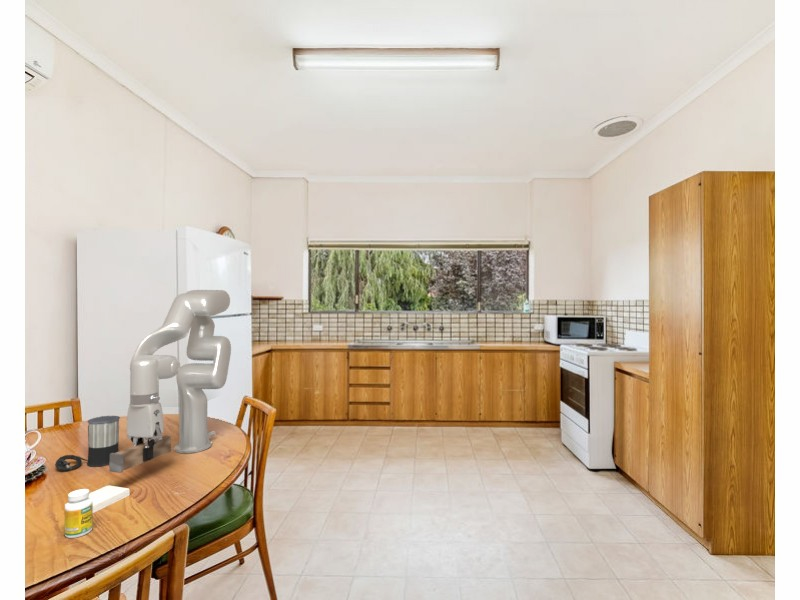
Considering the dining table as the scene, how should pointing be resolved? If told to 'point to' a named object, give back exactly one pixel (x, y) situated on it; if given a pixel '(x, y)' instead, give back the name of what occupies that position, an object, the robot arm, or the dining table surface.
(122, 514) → the dining table surface
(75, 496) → the supplement bottle
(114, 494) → the tile
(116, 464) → the bar
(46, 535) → the dining table surface
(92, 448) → the milk frother
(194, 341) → the robot arm
